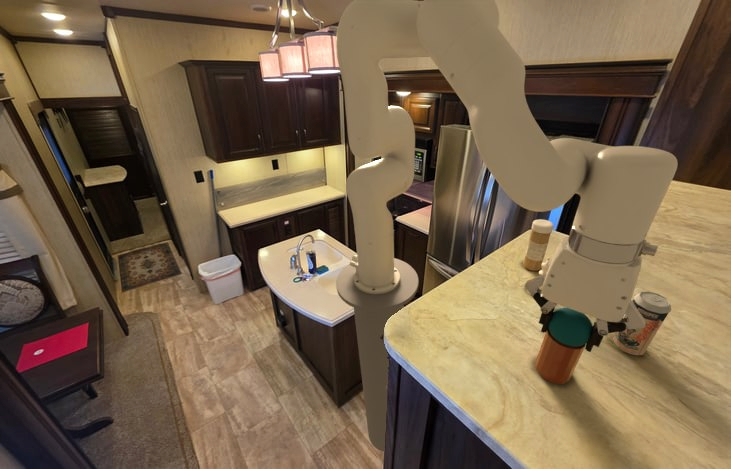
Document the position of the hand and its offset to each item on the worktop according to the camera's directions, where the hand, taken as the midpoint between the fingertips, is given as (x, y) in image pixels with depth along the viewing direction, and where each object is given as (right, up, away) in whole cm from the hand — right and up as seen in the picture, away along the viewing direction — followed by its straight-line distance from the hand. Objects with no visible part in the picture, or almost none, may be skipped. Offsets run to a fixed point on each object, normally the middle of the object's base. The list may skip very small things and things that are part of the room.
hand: (566, 335), depth 47 cm
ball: (0, -1, 0) cm, 1 cm away
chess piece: (+9, +3, +22) cm, 24 cm away
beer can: (+17, -5, +8) cm, 19 cm away
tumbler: (+1, -8, +4) cm, 9 cm away
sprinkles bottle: (+12, +8, +31) cm, 34 cm away
